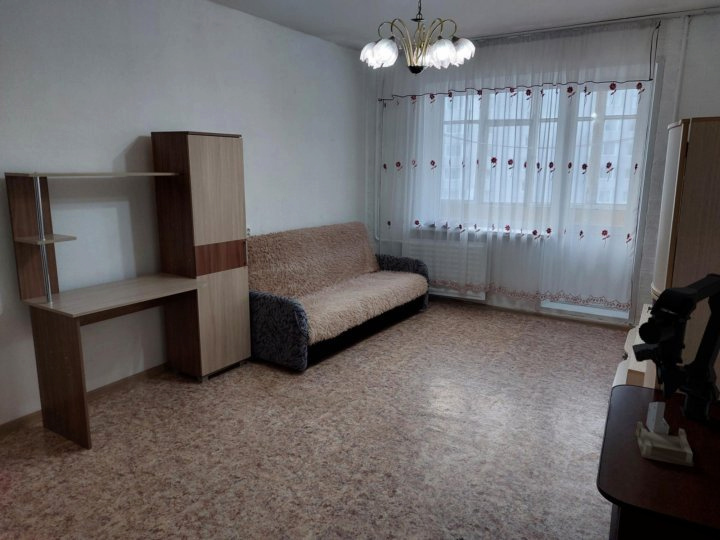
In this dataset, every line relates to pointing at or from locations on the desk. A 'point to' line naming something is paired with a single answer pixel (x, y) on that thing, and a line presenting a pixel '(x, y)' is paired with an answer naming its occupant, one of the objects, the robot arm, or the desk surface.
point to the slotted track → (664, 446)
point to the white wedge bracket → (657, 418)
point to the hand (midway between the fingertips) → (663, 391)
